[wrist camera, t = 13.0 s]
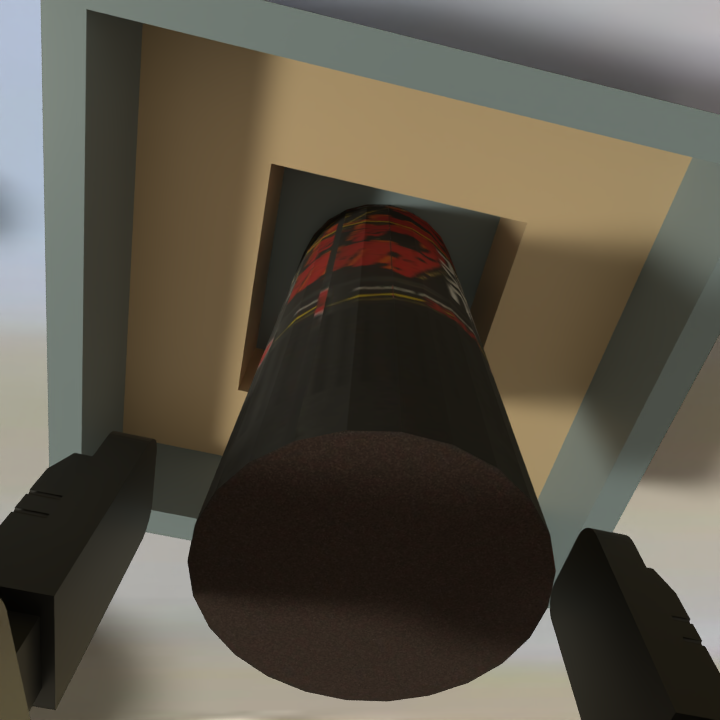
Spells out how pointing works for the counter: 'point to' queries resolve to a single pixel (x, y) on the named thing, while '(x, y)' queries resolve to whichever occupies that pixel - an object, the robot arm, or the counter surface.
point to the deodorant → (373, 482)
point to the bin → (349, 190)
